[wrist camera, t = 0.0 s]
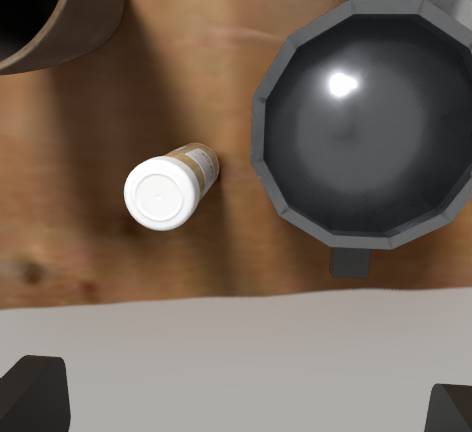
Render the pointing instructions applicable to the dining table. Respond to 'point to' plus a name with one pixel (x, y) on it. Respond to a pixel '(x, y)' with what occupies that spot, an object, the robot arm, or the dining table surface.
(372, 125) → the pot
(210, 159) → the sprinkles bottle
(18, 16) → the plant pot
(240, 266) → the dining table surface
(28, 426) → the robot arm
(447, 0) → the lid
